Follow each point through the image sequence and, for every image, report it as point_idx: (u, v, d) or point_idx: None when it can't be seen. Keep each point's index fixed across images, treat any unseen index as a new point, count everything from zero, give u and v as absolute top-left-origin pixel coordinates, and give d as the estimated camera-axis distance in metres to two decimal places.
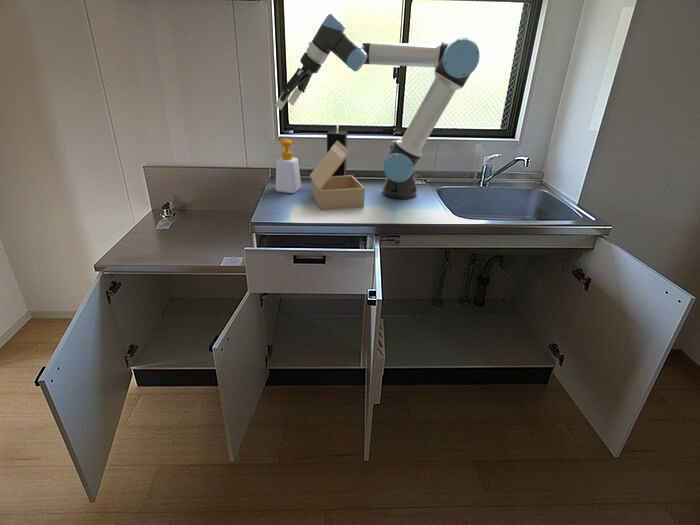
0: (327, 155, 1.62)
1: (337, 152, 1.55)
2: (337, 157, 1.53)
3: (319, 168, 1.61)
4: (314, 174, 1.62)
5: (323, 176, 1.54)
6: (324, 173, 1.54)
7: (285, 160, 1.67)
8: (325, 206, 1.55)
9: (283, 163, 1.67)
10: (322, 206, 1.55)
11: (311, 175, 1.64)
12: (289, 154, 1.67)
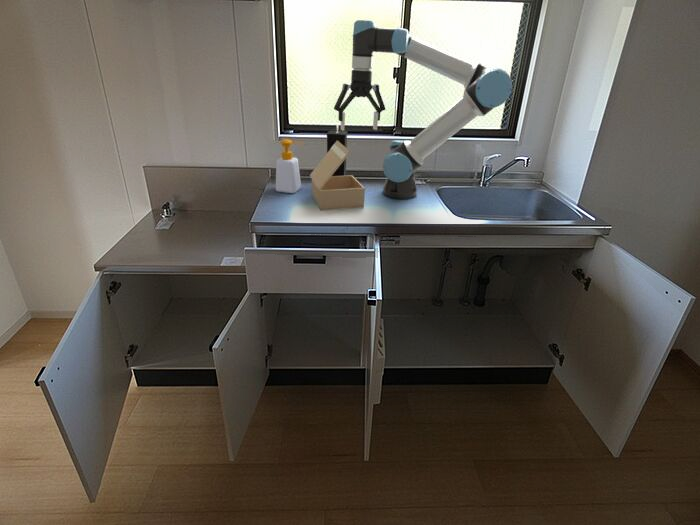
0: (327, 155, 1.62)
1: (337, 152, 1.55)
2: (337, 157, 1.53)
3: (319, 168, 1.61)
4: (314, 174, 1.62)
5: (323, 176, 1.54)
6: (324, 173, 1.54)
7: (285, 160, 1.67)
8: (325, 206, 1.55)
9: (283, 163, 1.67)
10: (322, 206, 1.55)
11: (311, 175, 1.64)
12: (289, 154, 1.67)
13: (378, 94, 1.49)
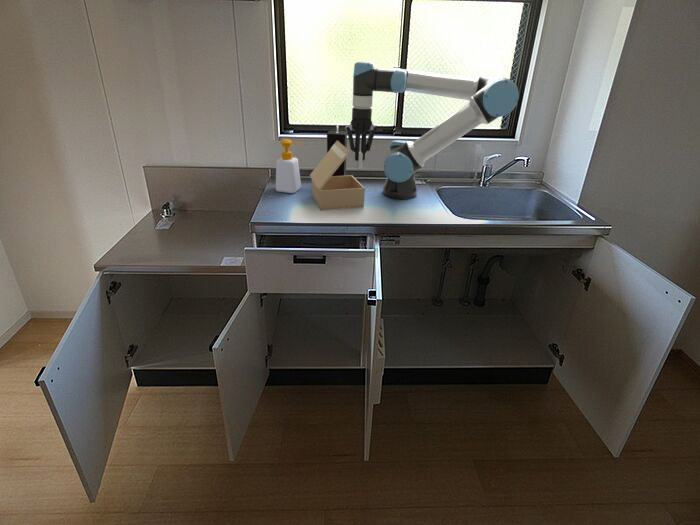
0: (327, 155, 1.62)
1: (337, 152, 1.55)
2: (337, 157, 1.53)
3: (319, 168, 1.61)
4: (314, 174, 1.62)
5: (323, 176, 1.54)
6: (324, 173, 1.54)
7: (285, 160, 1.67)
8: (325, 206, 1.55)
9: (283, 163, 1.67)
10: (322, 206, 1.55)
11: (311, 175, 1.64)
12: (289, 154, 1.67)
13: (372, 134, 1.55)
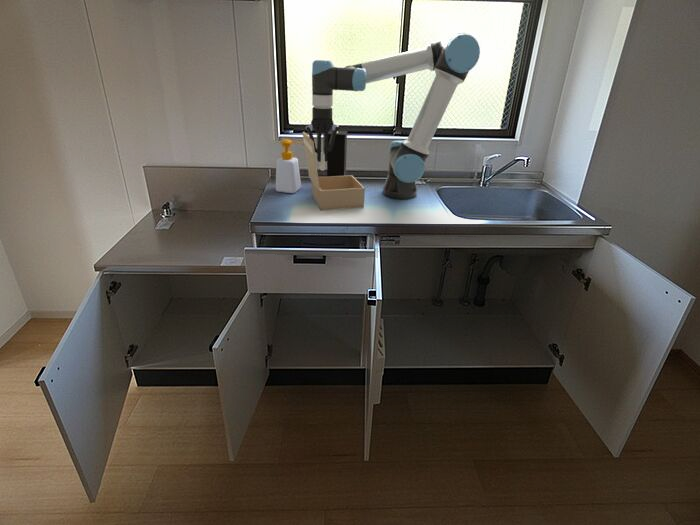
0: (306, 151, 1.59)
1: (307, 146, 1.51)
2: (310, 152, 1.49)
3: (309, 167, 1.60)
4: (310, 175, 1.62)
5: (314, 175, 1.52)
6: (313, 172, 1.53)
7: (285, 160, 1.67)
8: (325, 206, 1.55)
9: (283, 163, 1.67)
10: (322, 206, 1.55)
11: (309, 176, 1.64)
12: (289, 154, 1.67)
13: (333, 135, 1.51)
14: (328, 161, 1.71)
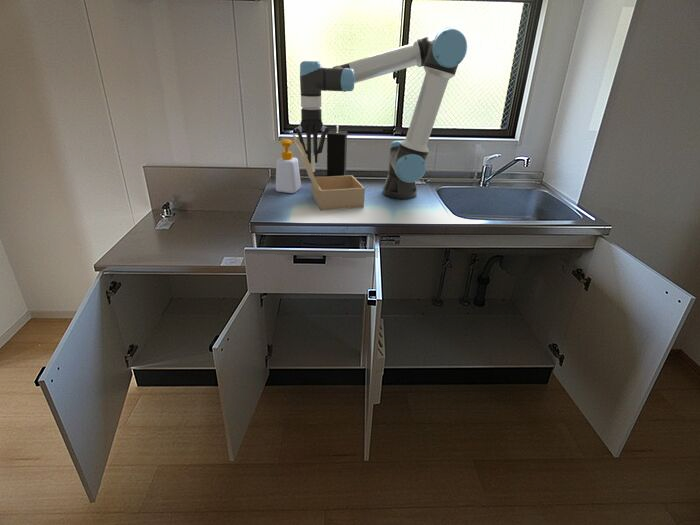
0: (300, 153, 1.59)
1: (299, 149, 1.50)
2: (302, 154, 1.48)
3: (306, 168, 1.60)
4: (309, 175, 1.62)
5: (311, 177, 1.52)
6: (310, 174, 1.53)
7: (285, 160, 1.67)
8: (325, 206, 1.55)
9: (283, 163, 1.67)
10: (322, 206, 1.55)
11: (309, 177, 1.65)
12: (289, 154, 1.67)
13: (323, 136, 1.50)
14: (328, 161, 1.71)
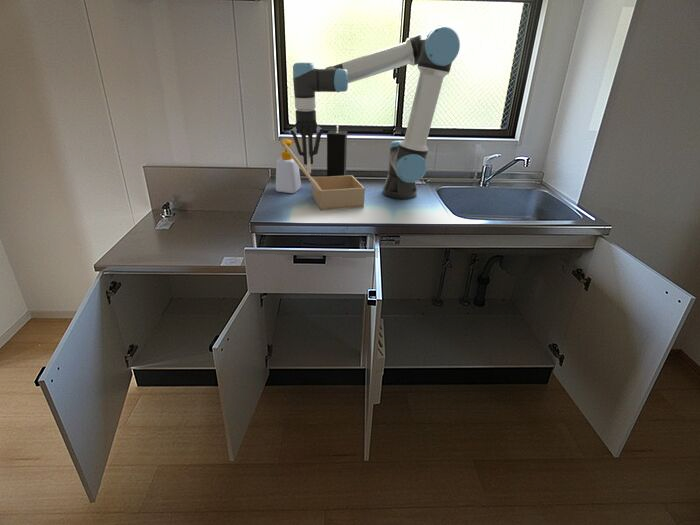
0: None
1: None
2: None
3: None
4: None
5: None
6: None
7: (285, 160, 1.67)
8: (325, 206, 1.55)
9: (283, 163, 1.67)
10: (322, 206, 1.55)
11: None
12: (289, 154, 1.67)
13: (318, 137, 1.50)
14: (328, 161, 1.71)
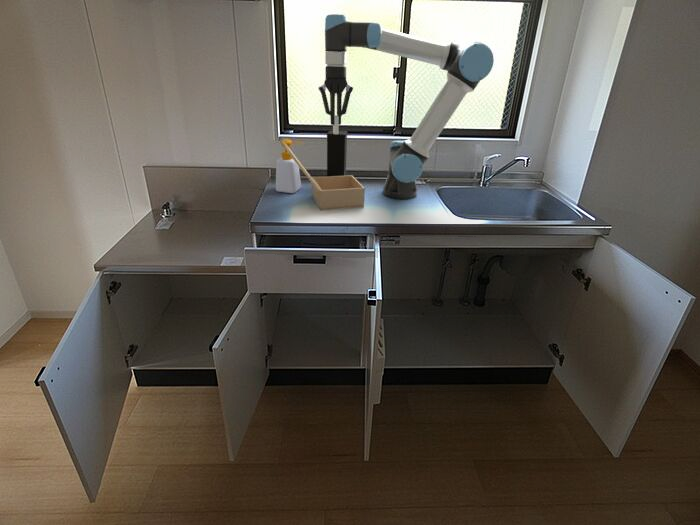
0: None
1: None
2: None
3: None
4: None
5: None
6: None
7: (285, 160, 1.67)
8: (325, 206, 1.55)
9: (283, 163, 1.67)
10: (322, 206, 1.55)
11: None
12: (289, 154, 1.67)
13: (347, 96, 1.45)
14: (328, 161, 1.71)
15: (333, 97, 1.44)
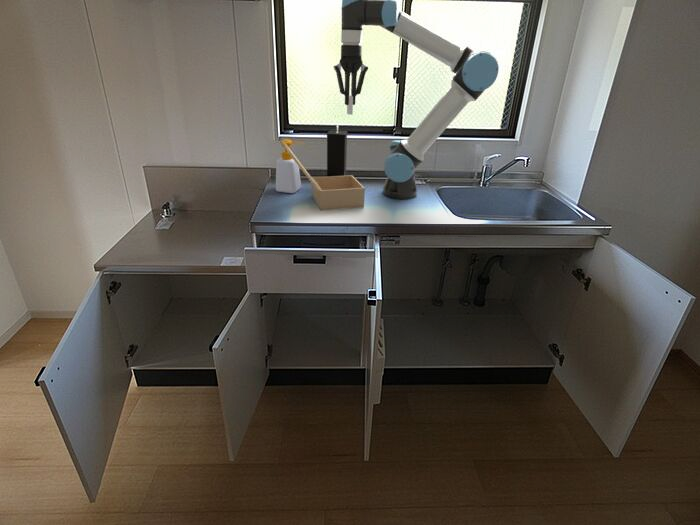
0: None
1: None
2: None
3: None
4: None
5: None
6: None
7: (285, 160, 1.67)
8: (325, 206, 1.55)
9: (283, 163, 1.67)
10: (322, 206, 1.55)
11: None
12: (289, 154, 1.67)
13: (362, 75, 1.45)
14: (328, 161, 1.71)
15: (348, 76, 1.44)
